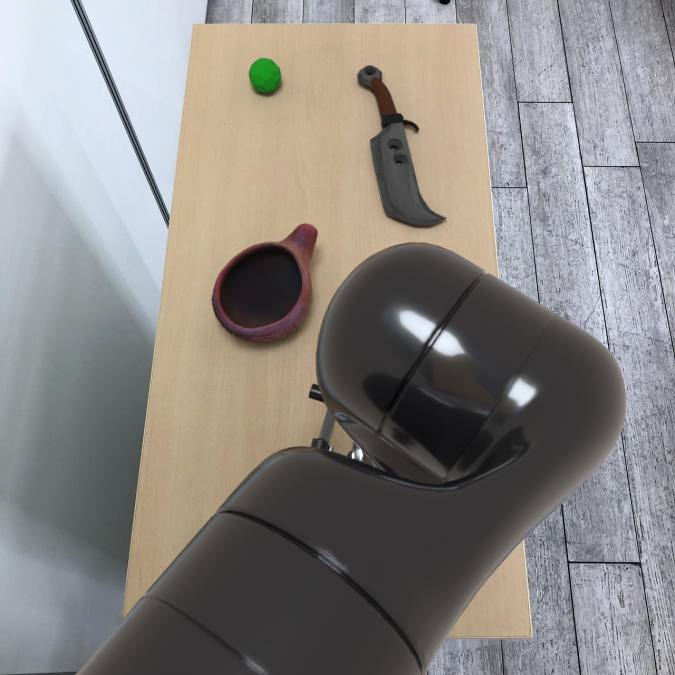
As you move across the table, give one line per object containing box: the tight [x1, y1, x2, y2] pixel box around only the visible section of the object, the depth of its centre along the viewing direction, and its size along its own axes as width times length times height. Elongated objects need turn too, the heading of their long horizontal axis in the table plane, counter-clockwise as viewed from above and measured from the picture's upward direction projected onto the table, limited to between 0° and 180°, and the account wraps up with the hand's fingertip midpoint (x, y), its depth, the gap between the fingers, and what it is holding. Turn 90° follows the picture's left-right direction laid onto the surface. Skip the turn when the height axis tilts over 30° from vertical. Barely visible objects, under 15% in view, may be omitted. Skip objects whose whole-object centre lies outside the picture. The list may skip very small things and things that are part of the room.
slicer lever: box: [308, 383, 337, 443], centre depth 65 cm, size 13×6×2 cm, turn 162°
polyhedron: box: [248, 57, 282, 94], centre depth 98 cm, size 5×5×5 cm
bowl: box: [210, 222, 319, 343], centre depth 83 cm, size 16×13×8 cm
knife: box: [356, 64, 448, 227], centre depth 95 cm, size 9×2×30 cm
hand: (394, 493), depth 53 cm, fingers open, 8 cm apart
